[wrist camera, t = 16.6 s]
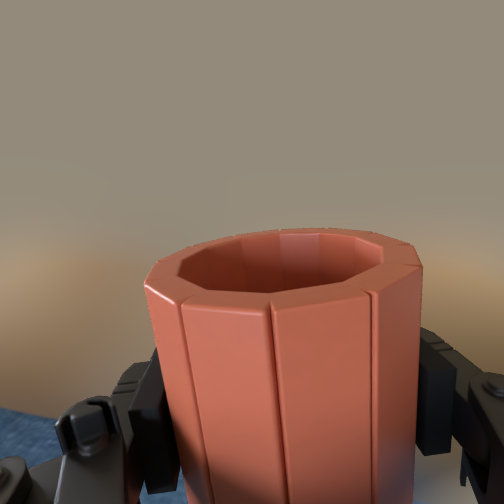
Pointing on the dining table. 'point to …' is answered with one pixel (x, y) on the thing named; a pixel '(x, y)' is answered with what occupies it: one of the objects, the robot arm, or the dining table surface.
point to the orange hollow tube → (291, 365)
